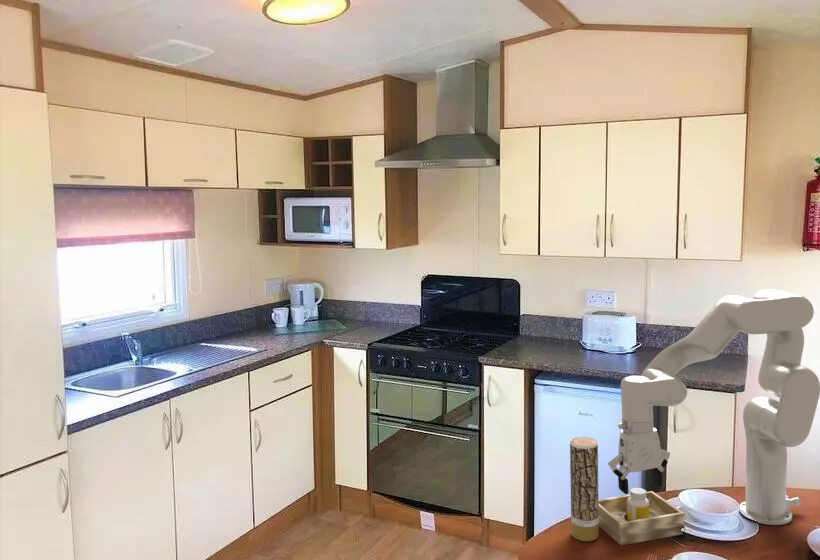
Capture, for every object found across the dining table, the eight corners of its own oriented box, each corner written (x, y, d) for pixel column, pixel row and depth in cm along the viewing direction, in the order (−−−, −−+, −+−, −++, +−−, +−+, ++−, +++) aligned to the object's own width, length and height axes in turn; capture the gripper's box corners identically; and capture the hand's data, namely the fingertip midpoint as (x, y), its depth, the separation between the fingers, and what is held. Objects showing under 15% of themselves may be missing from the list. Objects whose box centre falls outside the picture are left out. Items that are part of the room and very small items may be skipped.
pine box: (652, 510, 188) (652, 490, 187) (684, 533, 174) (684, 513, 174) (592, 520, 183) (592, 500, 183) (620, 545, 170) (620, 524, 169)
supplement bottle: (653, 526, 179) (653, 490, 178) (643, 533, 175) (643, 497, 174) (633, 519, 183) (633, 484, 182) (623, 527, 179) (623, 491, 178)
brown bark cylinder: (599, 543, 171) (598, 447, 168) (571, 542, 173) (570, 446, 170) (597, 530, 178) (597, 437, 175) (570, 529, 179) (569, 436, 176)
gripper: (615, 435, 170) (618, 500, 172) (676, 423, 174) (679, 488, 176) (599, 425, 177) (603, 489, 179) (658, 415, 181) (661, 477, 183)
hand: (640, 488), depth 178 cm, fingers open, 9 cm apart
